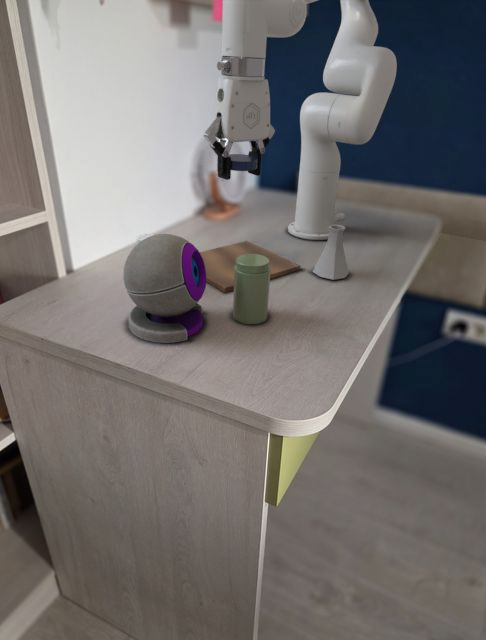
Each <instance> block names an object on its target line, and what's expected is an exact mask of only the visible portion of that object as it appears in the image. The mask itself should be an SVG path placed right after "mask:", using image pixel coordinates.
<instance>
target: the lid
mask: <svg viewBox="0 0 486 640" xmlns="http://www.w3.org/2000/svg"><path fill="white" fill-rule="evenodd" d="M228 157H231V171H235V172H248V171H252V170H255V169H257V166H258V161H257V158H256V157H254V156H251V155H248V154H243V153H242V154H241V153H231V154H230V153H229V155H228Z"/></svg>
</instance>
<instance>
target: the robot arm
mask: <svg viewBox="0 0 486 640" xmlns="http://www.w3.org/2000/svg"><path fill="white" fill-rule="evenodd" d="M318 1H319V0H222V15H221V16H222V18H221V20H222V21H221V26H222V27H221V60H219V61H218V62H217V63H216V69H217V70H218V71H221V77H219V78H218V80H217V85H216V92H215V99H214V109H213V110H214V111H213V122H212V123H211V124H210V125H209V127H207V129H206V130H205V131H204V133H203V137H204V139H205V140H206V142H207V143H208V144H209V146H210V148H211V149H212V150H213V152H214V154H215V155H216V156H217V163H216V165H217V169H216V170H217V177H218V178H220V179H223V180H226V181H229V180H231V178H232V177H231V175H232V173H231V172H232V170H231V157H228V155H229V154H230V152H231V149H232V147H233V144H234V143H243V142H248V143H249V146H250V151H248V154H247V155H251V156H254V157H256V158H257V161H258V166H257V169H255V170H252V171H247V173H248V174H251V175H252V176H253V175H254V176H261V173H262V172H261V171H262V155H263V154H264V153H265V152H266V147H267V146H268V145H269V144H270V140H271V139H272V138H273V136H274V134H275V133H276V130H275V128H274V126H273V125H272V124H271V95H270V85H269V79H266V78H265V75H266V74H265V73H266V58H267V57H266V54H267V38H289V37H292V36H294V35H296V34H297V33H299V32H300V31H301V29H302V28H303V26H304V24H305V22H306V18H307V14H308V13H307V11H308V10H307V9H308V8H307V5H308V4H311V3H315V2H318ZM339 1H340V11H341V20H340V21H341V22H340V26H339V29H338V31H337V34H336V37H335V40H334V41H333V45H332V48H331V50H330V53H329V55H328V58H327V60H326V63H325V66H324V69H323V74H322V81H323V85H324V87H325V88H326V89H327V90H329V92H315V93H312V94H311V95H308V96H307V97H306V99H305V100H304V101H303V102H302V104H301V107H300V112H299V126H300V141H301V142H300V143H301V144H300V162H299V172H298V182H297V193H296V203H295V204H296V205H295V215H294V221H293V222H290V223H289V224H288V225H287V232H288V233H289V234H291V235H292V236H294V237H297V238H300V239H304V240H309V241H310V240H311V241H326V240H328V237H329V232H330V230H329V228H328V227H329V226H330V225H335V224H336V223H337V222H342V221H344V220H345V217H346V216H345V214H344V213H343V212H340V213H335V209H336V201H337V195H338V186H339V179H340V171H341V165H342V164H341V163H342V161H341V159H342V158H341V153H340V150H339V148H338V145H337V142H338V143H344V144H350V145H365V144H366V143H368V142H369V141H370V140H371V139H372V137H373V136H374V134H375V132H376V130H377V127H378V125H379V122H380V120H381V118H382V115H383V113H384V110H385V108H386V105H387V102H388V100H389V97H390V95H391V93H392V90H393V87H394V84H395V82H396V81H395V80H396V77H397V71H398V69H397V68H398V67H397V66H398V62H397V57H396V55H395V52H393V51H392V50H391V49H389V48H388V47H384V46H376V45H375V43H376V40H377V37H378V35H379V24H378V21H377V17H376V15H375V13H374V11H373V8H372V7H371V5H370V1H369V0H339ZM374 45H375V46H374ZM330 91H331V92H330Z"/></svg>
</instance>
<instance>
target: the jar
mask: <svg viewBox="0 0 486 640" xmlns="http://www.w3.org/2000/svg"><path fill="white" fill-rule="evenodd" d="M269 265H270V264H269V259H268V258H267V257H265V256H263V255H258V254H244V255H241V256H239V257H237V259H236V265H235V267H234V290H233V300H232V303H233V304H232V317H233V319H234V320H235V321H236V322H238V323H241V324H245V325H259V324H262V323H264V322H266V320H267V319H268V313H269V312H268V311H269V299H270V285H271V279H270V272H271V268H270V266H269Z"/></svg>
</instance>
